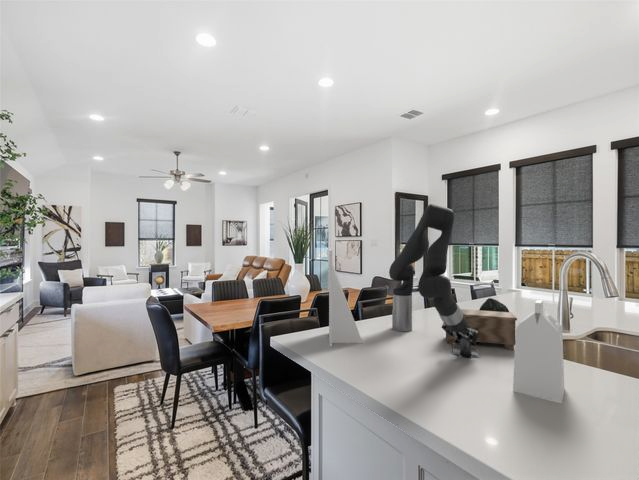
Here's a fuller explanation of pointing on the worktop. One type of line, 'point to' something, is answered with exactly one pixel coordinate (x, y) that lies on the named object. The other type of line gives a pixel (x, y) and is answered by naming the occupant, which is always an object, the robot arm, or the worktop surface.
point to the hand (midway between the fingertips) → (467, 343)
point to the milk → (539, 356)
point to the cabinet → (490, 327)
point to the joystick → (465, 349)
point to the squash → (493, 306)
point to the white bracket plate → (340, 312)
